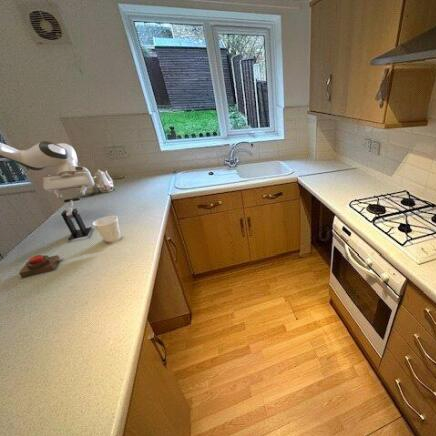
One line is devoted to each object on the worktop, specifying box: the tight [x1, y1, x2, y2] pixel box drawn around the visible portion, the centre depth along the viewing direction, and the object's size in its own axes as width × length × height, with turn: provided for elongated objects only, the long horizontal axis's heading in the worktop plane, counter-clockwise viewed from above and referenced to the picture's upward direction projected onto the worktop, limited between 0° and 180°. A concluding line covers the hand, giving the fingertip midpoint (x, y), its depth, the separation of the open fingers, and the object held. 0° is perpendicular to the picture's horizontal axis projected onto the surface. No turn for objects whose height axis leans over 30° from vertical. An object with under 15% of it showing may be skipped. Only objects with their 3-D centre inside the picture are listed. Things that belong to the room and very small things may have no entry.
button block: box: [18, 254, 60, 279], centre depth 99 cm, size 10×8×4 cm
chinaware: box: [78, 169, 116, 197], centre depth 176 cm, size 28×17×17 cm, turn 178°
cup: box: [91, 215, 122, 243], centre depth 115 cm, size 10×10×11 cm
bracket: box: [60, 208, 93, 241], centre depth 119 cm, size 10×8×14 cm
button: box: [28, 254, 44, 264], centre depth 98 cm, size 4×4×2 cm
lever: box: [63, 197, 81, 219], centre depth 119 cm, size 12×6×2 cm, turn 26°
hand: (71, 196), depth 123 cm, fingers open, 8 cm apart
